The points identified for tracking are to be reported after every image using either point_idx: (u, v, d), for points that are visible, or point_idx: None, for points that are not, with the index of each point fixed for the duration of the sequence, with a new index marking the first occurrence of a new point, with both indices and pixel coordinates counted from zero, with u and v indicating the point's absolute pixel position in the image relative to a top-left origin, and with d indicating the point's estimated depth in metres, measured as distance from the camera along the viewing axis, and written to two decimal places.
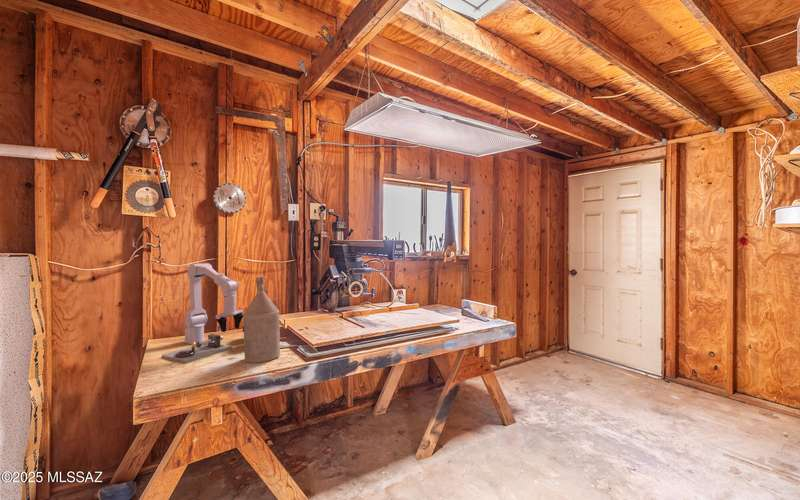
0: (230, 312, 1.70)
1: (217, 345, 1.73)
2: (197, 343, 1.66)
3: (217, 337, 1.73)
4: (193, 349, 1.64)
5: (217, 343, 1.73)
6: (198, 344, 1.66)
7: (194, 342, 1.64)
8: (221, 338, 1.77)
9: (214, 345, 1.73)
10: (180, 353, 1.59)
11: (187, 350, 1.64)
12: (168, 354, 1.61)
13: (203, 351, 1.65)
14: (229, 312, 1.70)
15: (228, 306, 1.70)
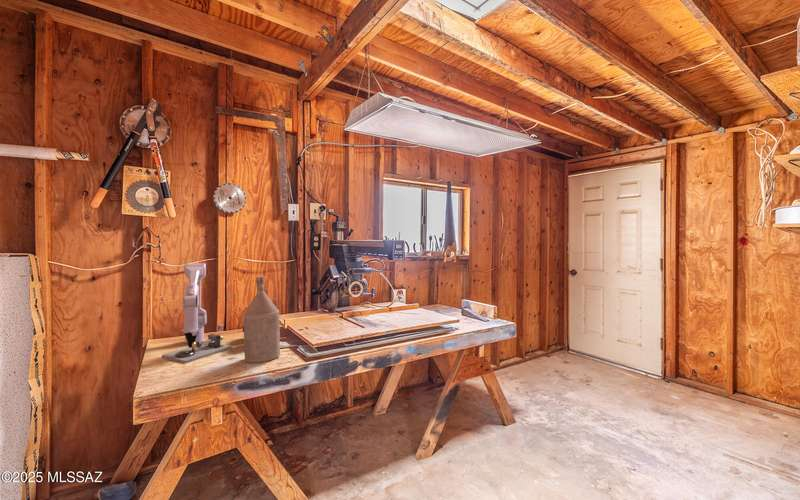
0: None
1: (217, 345, 1.73)
2: (197, 343, 1.66)
3: (217, 337, 1.73)
4: (193, 349, 1.64)
5: (217, 343, 1.73)
6: (198, 344, 1.66)
7: (194, 342, 1.64)
8: (221, 338, 1.77)
9: (214, 345, 1.73)
10: (180, 353, 1.59)
11: (187, 350, 1.64)
12: (168, 354, 1.61)
13: (203, 351, 1.65)
14: None
15: None
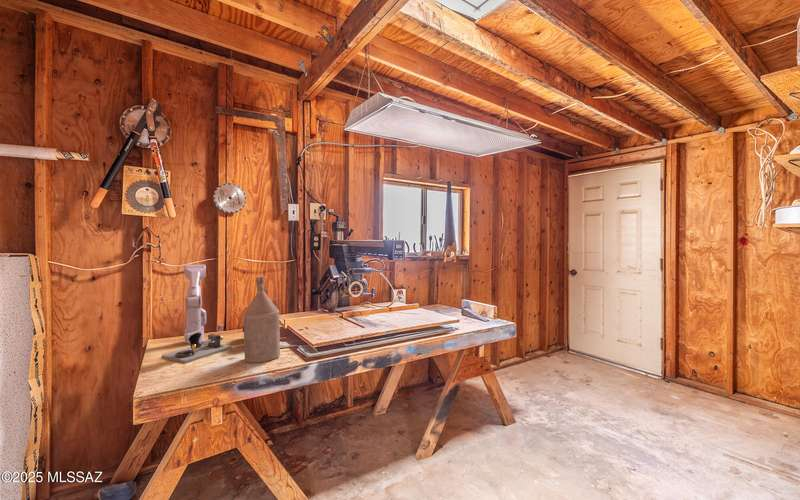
0: None
1: (217, 345, 1.73)
2: None
3: (217, 337, 1.73)
4: (192, 351, 1.61)
5: (217, 343, 1.73)
6: (198, 344, 1.66)
7: (193, 344, 1.61)
8: (221, 338, 1.77)
9: (214, 345, 1.73)
10: (181, 352, 1.61)
11: None
12: (168, 354, 1.61)
13: (203, 351, 1.65)
14: None
15: None
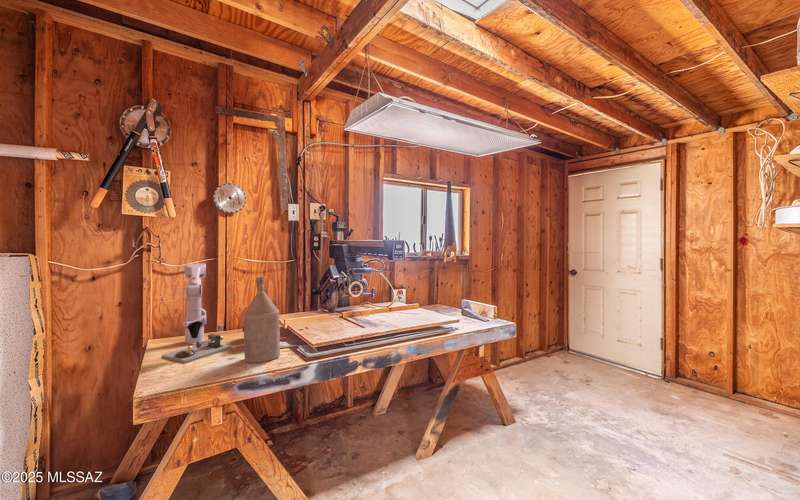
0: None
1: (217, 345, 1.73)
2: (197, 343, 1.66)
3: (217, 337, 1.73)
4: (187, 353, 1.58)
5: (217, 343, 1.73)
6: (198, 344, 1.66)
7: (188, 346, 1.58)
8: (221, 338, 1.77)
9: (214, 345, 1.73)
10: (183, 351, 1.62)
11: (194, 352, 1.62)
12: (168, 354, 1.61)
13: (203, 351, 1.65)
14: None
15: None
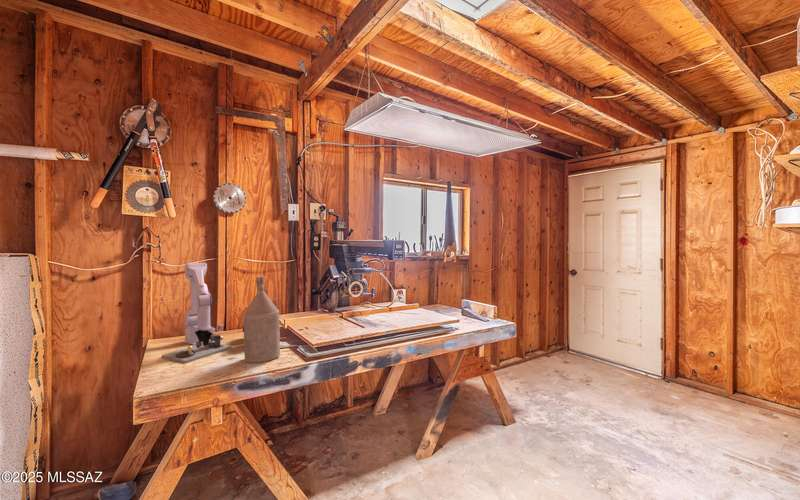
0: (197, 326, 1.68)
1: (217, 345, 1.73)
2: (197, 343, 1.66)
3: (217, 337, 1.73)
4: (187, 353, 1.58)
5: (217, 343, 1.73)
6: (198, 344, 1.66)
7: (188, 346, 1.58)
8: (221, 338, 1.77)
9: (214, 345, 1.73)
10: (183, 351, 1.62)
11: (194, 352, 1.62)
12: (168, 354, 1.61)
13: (203, 351, 1.65)
14: None
15: None
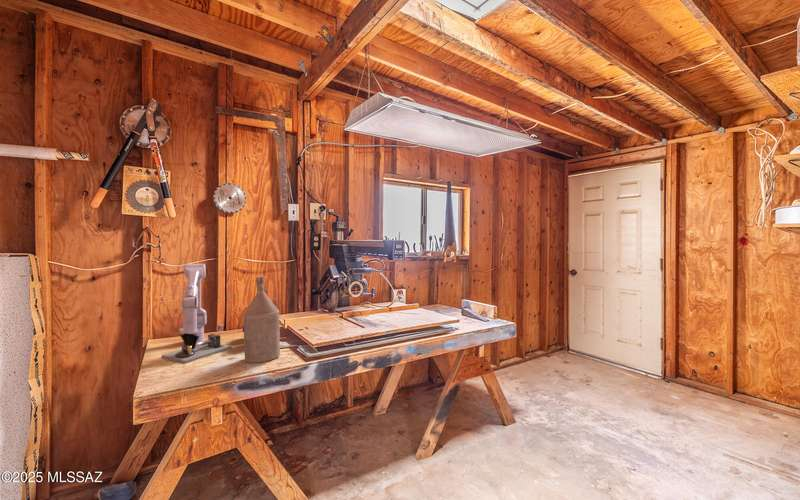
0: (183, 329, 1.61)
1: (217, 345, 1.73)
2: (183, 347, 1.60)
3: (217, 337, 1.73)
4: (187, 353, 1.58)
5: (217, 343, 1.73)
6: (184, 348, 1.60)
7: (188, 346, 1.58)
8: (209, 341, 1.71)
9: (214, 345, 1.73)
10: None
11: (194, 352, 1.62)
12: (168, 354, 1.61)
13: (203, 351, 1.65)
14: (183, 329, 1.62)
15: None
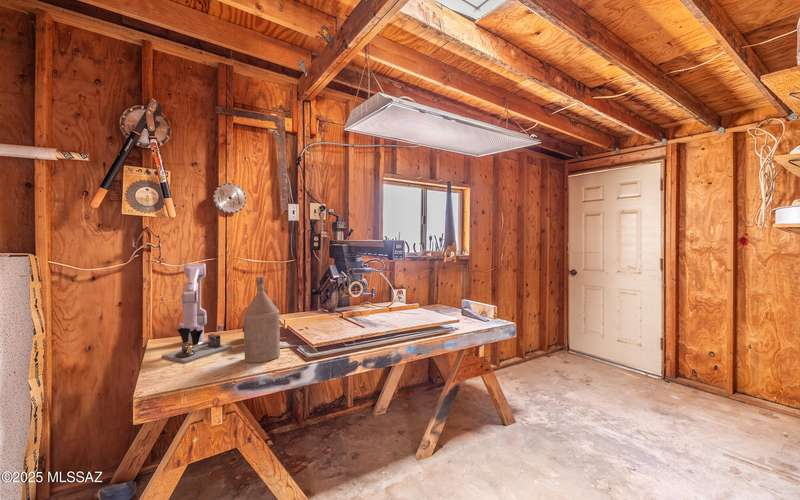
0: (183, 324, 1.61)
1: (217, 345, 1.73)
2: (183, 347, 1.60)
3: (217, 337, 1.73)
4: (187, 353, 1.58)
5: (217, 343, 1.73)
6: (184, 348, 1.60)
7: (188, 346, 1.58)
8: (209, 341, 1.71)
9: (214, 345, 1.73)
10: None
11: (194, 352, 1.62)
12: (168, 354, 1.61)
13: (203, 351, 1.65)
14: (183, 324, 1.62)
15: None
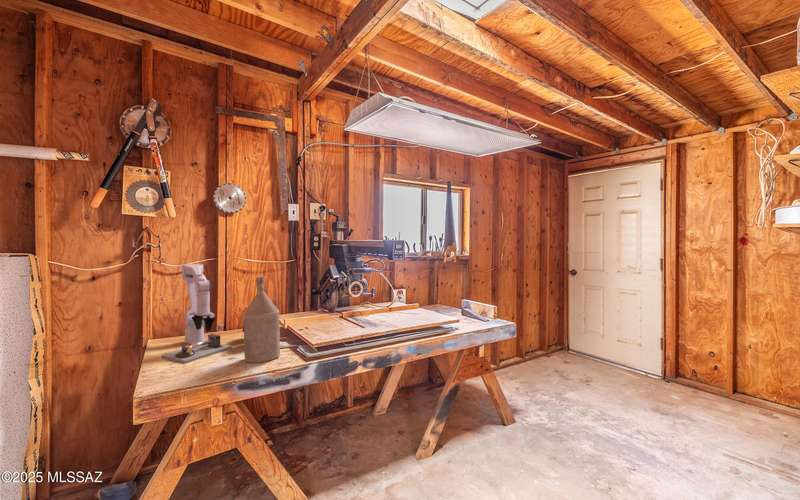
0: (197, 312, 1.71)
1: (217, 345, 1.73)
2: (183, 347, 1.60)
3: (217, 337, 1.73)
4: (187, 353, 1.58)
5: (217, 343, 1.73)
6: (184, 348, 1.60)
7: (188, 346, 1.58)
8: (209, 341, 1.71)
9: (214, 345, 1.73)
10: None
11: (194, 352, 1.62)
12: (168, 354, 1.61)
13: (203, 351, 1.65)
14: (197, 311, 1.72)
15: None
